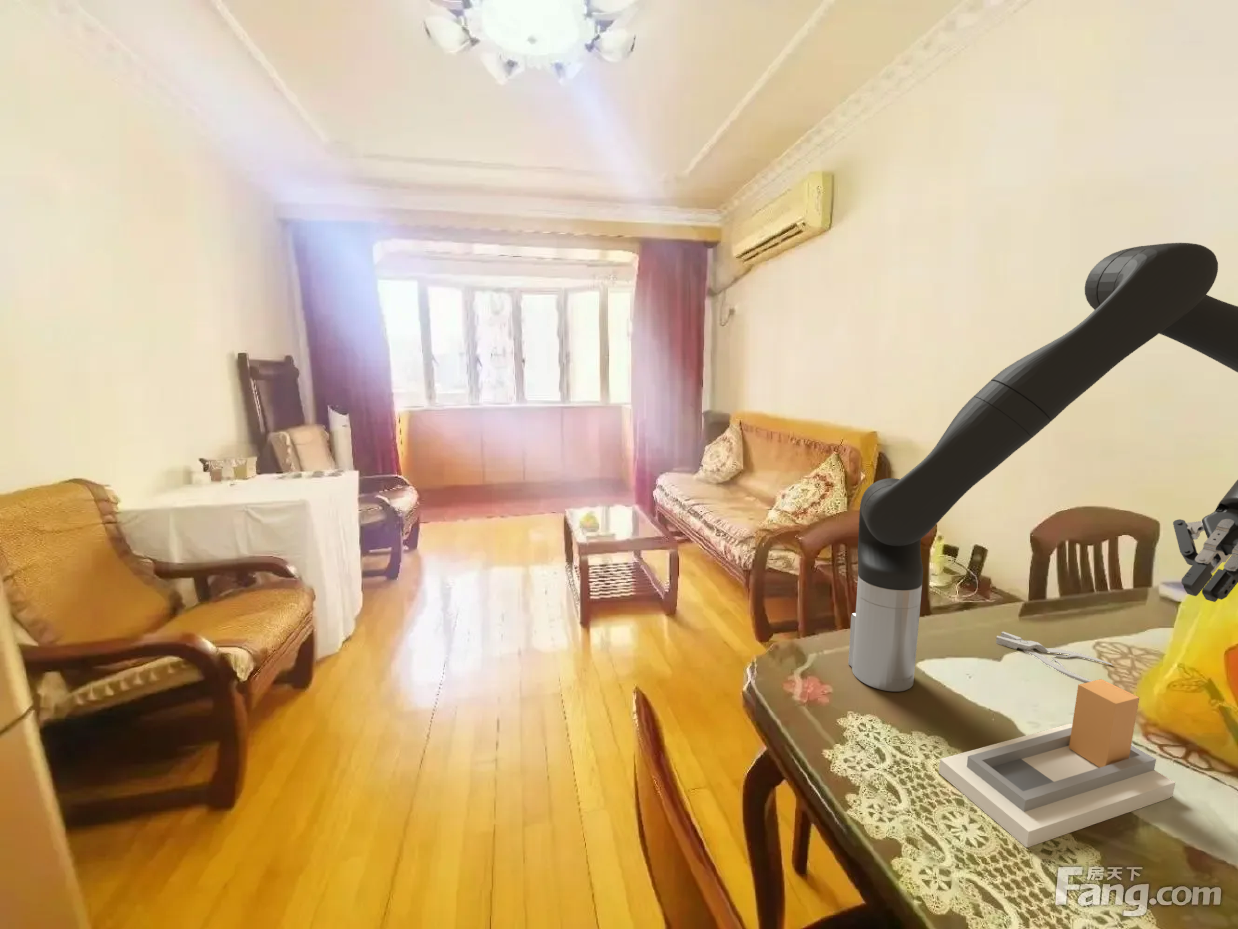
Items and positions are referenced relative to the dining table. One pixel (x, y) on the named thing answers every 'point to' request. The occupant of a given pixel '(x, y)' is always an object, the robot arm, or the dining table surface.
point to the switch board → (1052, 785)
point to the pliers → (1028, 647)
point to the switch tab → (1103, 722)
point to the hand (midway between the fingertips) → (1198, 594)
